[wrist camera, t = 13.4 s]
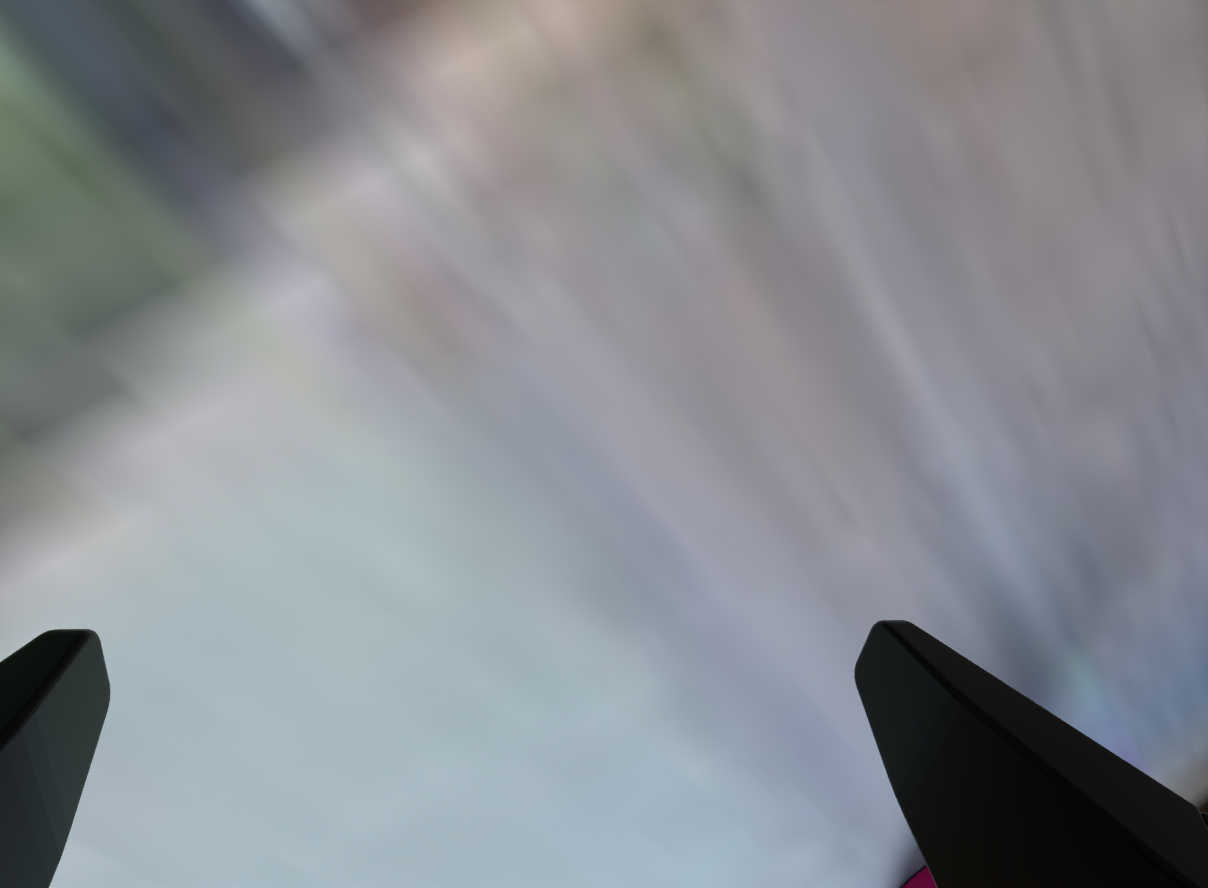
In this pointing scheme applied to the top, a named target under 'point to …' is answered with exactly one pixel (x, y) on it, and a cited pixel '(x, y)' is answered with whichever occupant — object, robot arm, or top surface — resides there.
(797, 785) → the top surface
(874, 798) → the top surface
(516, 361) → the top surface
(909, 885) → the pepper mill
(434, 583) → the top surface
